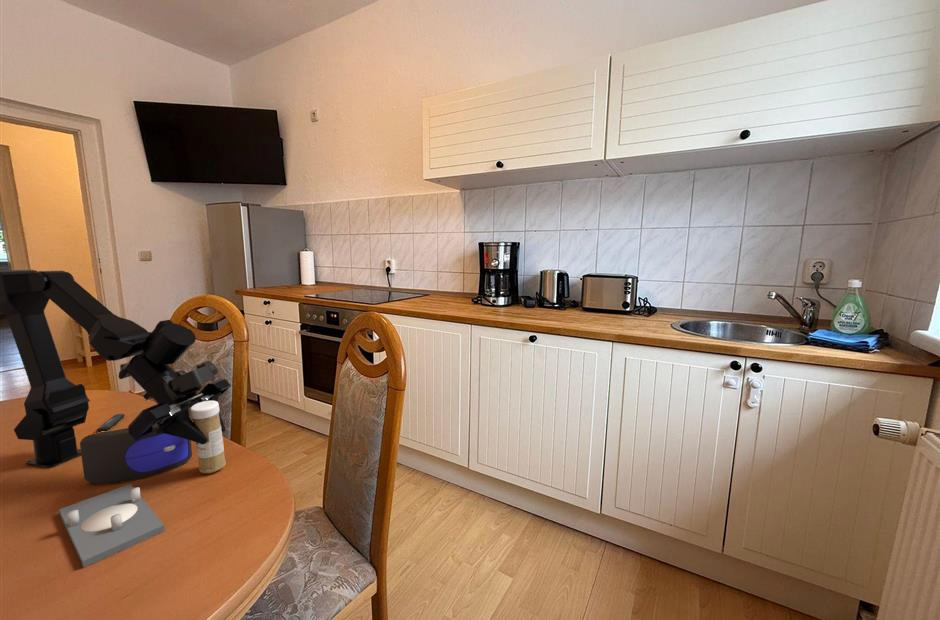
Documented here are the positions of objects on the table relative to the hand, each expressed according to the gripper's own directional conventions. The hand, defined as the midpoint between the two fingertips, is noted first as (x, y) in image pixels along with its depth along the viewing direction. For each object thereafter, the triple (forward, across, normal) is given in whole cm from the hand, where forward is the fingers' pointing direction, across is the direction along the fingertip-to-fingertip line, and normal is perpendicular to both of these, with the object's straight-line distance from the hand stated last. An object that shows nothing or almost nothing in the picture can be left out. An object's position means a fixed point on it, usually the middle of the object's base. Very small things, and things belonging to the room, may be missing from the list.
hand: (215, 437), depth 75 cm
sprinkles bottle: (+4, +1, +6) cm, 7 cm away
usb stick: (-24, +16, +36) cm, 46 cm away
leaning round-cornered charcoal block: (-5, -2, +16) cm, 17 cm away
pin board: (+1, -16, +9) cm, 18 cm away
